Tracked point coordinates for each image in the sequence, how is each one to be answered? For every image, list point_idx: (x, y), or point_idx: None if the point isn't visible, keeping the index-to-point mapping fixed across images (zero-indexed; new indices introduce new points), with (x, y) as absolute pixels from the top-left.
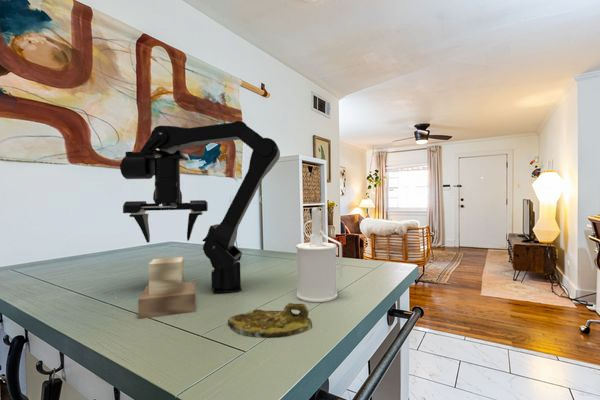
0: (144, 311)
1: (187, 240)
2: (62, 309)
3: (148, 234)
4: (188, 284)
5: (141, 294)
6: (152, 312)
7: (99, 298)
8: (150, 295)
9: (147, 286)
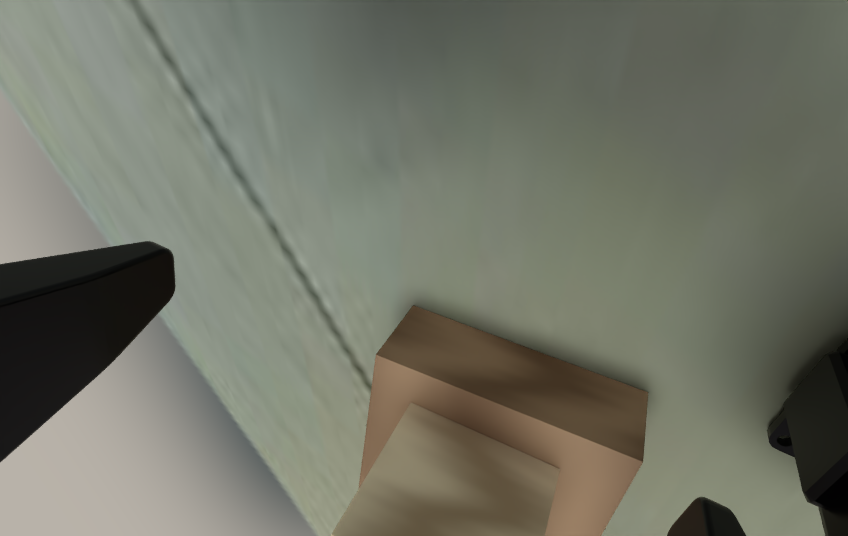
0: None
1: (672, 533)
2: (121, 172)
3: (77, 353)
4: (580, 489)
5: (362, 466)
6: None
7: (197, 85)
8: None
9: (380, 372)
